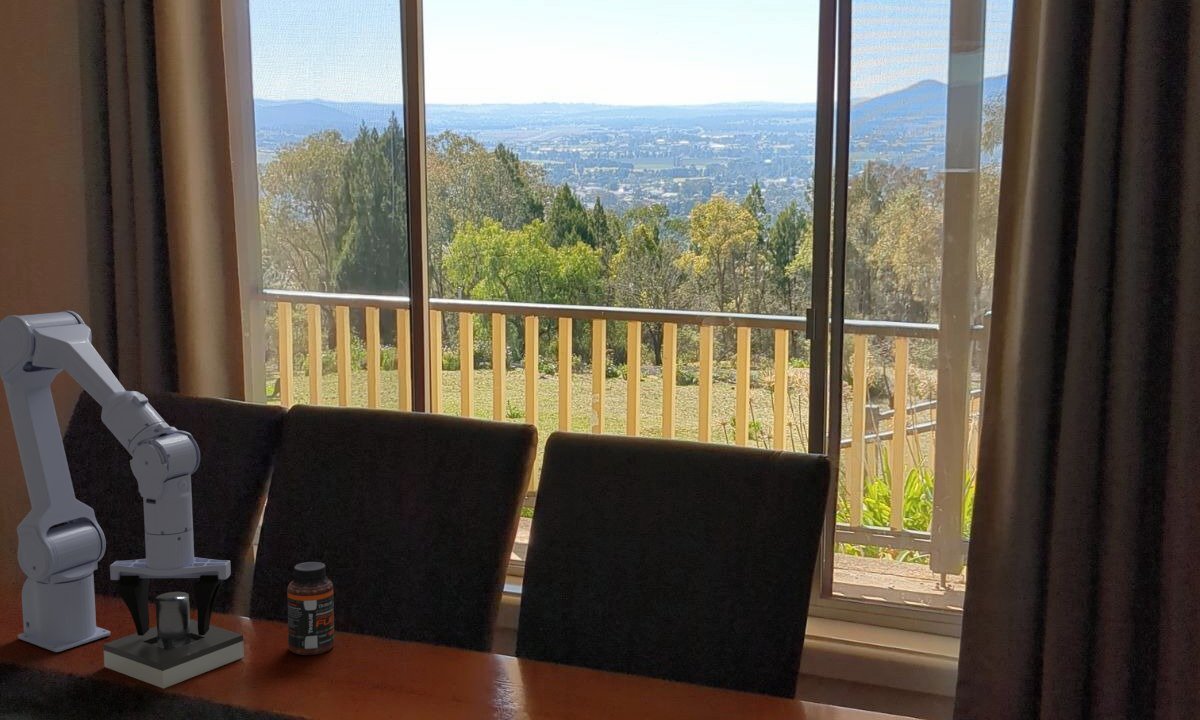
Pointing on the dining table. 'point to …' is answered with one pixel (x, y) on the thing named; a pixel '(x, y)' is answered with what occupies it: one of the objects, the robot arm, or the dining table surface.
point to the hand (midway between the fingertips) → (173, 632)
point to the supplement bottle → (310, 610)
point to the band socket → (172, 655)
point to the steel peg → (173, 620)
